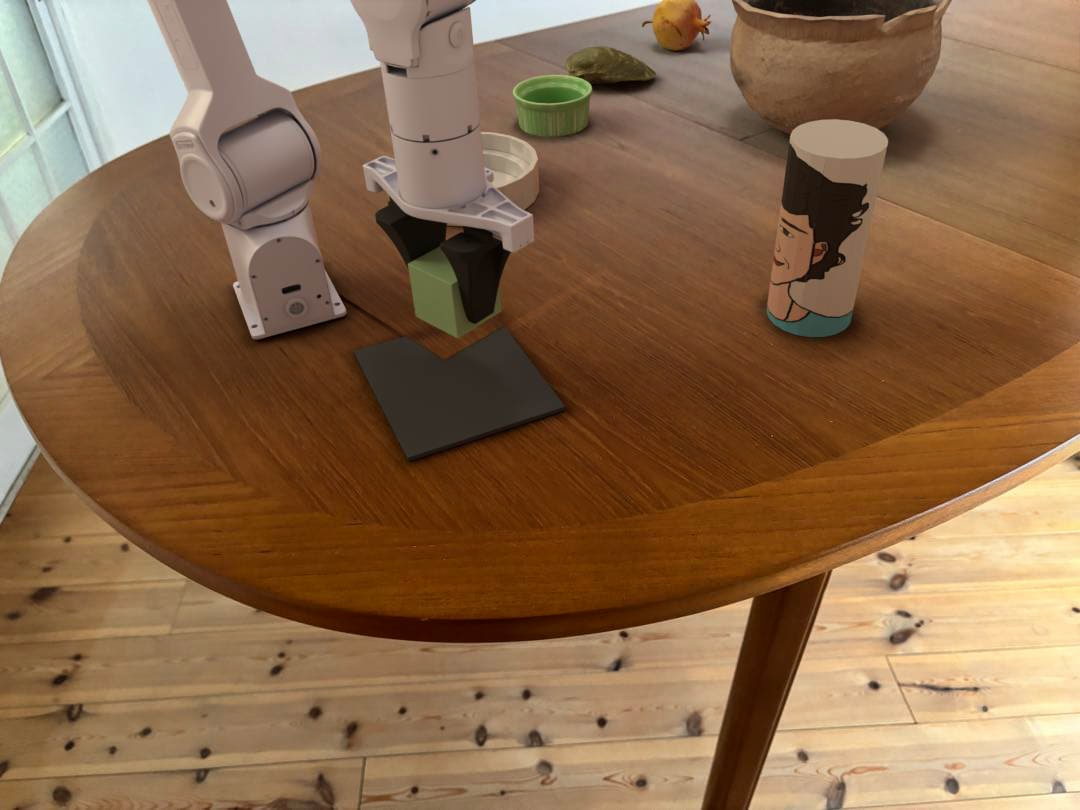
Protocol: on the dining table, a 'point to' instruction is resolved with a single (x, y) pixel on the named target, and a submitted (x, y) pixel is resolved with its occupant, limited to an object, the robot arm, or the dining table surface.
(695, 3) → the fruit
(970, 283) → the dining table surface
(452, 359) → the mat
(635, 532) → the dining table surface
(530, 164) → the basin
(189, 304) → the dining table surface
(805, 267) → the cup
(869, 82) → the ceramic bowl
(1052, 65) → the dining table surface
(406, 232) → the robot arm
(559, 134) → the ramekin
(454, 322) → the green block
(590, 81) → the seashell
